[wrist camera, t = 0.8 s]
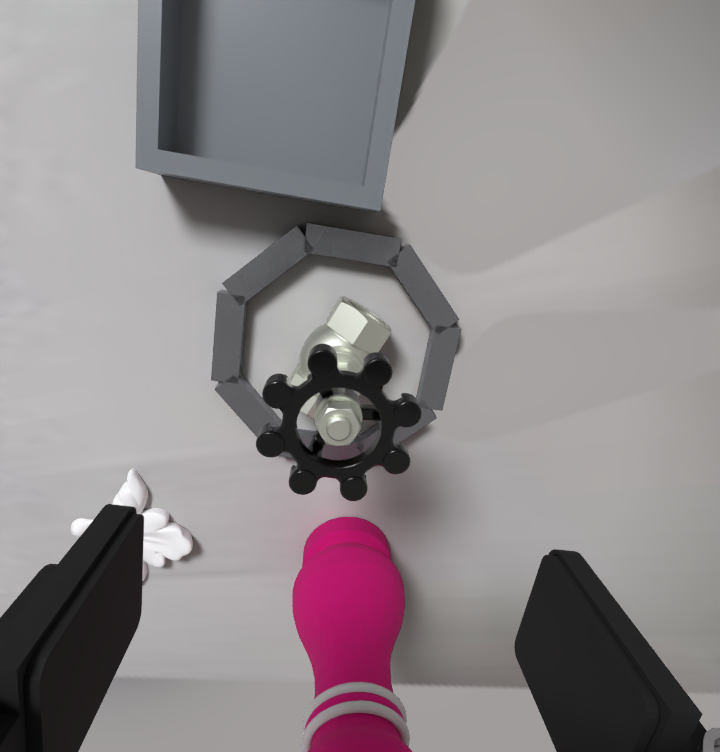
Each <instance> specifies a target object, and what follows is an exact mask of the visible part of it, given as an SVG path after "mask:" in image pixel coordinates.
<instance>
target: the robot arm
mask: <svg viewBox="0 0 720 752" xmlns="http://www.w3.org/2000/svg"><path fill="white" fill-rule="evenodd" d="M143 541H144V516H143V515H142V514H137V513H136V508H135V507H132V506H122V505H112V504H108V505H106V506H105V507H104V508H103V509H102V510H101V511H100V513H99V514H98V515H97V516H96V518H95V519H94V520H93V521H92V523H91V524H90V525H89V526H88V528H87V529H86V530H85V531H84V532H83V534H82V535H81V536H80V537H79V539H78V540H77V541H76V542H75V544H74V545H73V546H72V547H71V549H70V550H69V551H68V552H67V554H66V555H65V556H64V557H63V559H62V560H61V561H60V562H59V564H49V565H46V566H45V567H44V568H43V569H41V570H40V571H39V573H38V574H37V575H36V576H35V577H34V578H33V580H32V581H31V582H30V583H29V584H28V586H27V587H26V588H25V589H24V590H23V592H22V593H21V594H20V595H19V596H18V598H17V599H16V600H15V601H14V602H13V603H12V605H11V606H10V607H9V608H8V609H7V611H6V612H5V613H4V614H3V615H2V617H1V618H0V752H78V751H79V749H80V746H81V745H82V742H83V740H84V738H85V736H86V734H87V732H88V730H89V728H90V726H91V724H92V722H93V720H94V717H95V715H96V713H97V711H98V709H99V707H100V705H101V703H102V701H103V699H104V696H105V694H106V692H107V690H108V688H109V686H110V684H111V682H112V680H113V678H114V676H115V674H116V671H117V669H118V667H119V665H120V663H121V661H122V659H123V657H124V655H125V653H126V651H127V648H128V646H129V644H130V642H131V640H132V638H133V636H134V634H135V632H136V629H137V627H138V624H139V621H140V616H141V606H142V573H143ZM515 654H516V658H517V660H518V663H519V665H520V667H521V670H522V672H523V674H524V677H525V679H526V681H527V684H528V686H529V688H530V690H531V693H532V695H533V697H534V700H535V702H536V704H537V707H538V709H539V711H540V714H541V716H542V718H543V720H544V723H545V725H546V728H547V730H548V732H549V735H550V737H551V739H552V742H553V744H554V746H555V749H556V751H557V752H720V728H712V729H710V730H709V731H706V730H705V728H704V727H703V725H702V724H701V723H700V721H699V720H700V718H701V716H702V713H701V712H700V711H699V709H698V708H697V707H696V705H695V704H694V703H693V701H692V700H691V699H690V697H689V696H688V695H687V693H686V692H685V691H684V689H683V688H682V687H681V686H680V684H679V683H678V682H677V680H676V679H675V678H674V676H673V675H672V674H671V672H670V671H669V670H668V668H667V667H666V666H665V665H664V663H663V662H662V661H661V659H660V658H659V657H658V655H657V654H656V653H655V651H654V650H653V649H652V647H651V646H650V645H649V644H648V642H647V641H646V640H645V638H644V637H643V636H642V634H641V633H640V632H639V630H638V629H637V628H636V626H635V625H634V624H633V622H632V621H631V620H630V619H629V617H628V616H627V615H626V613H625V612H624V611H623V609H622V608H621V607H620V605H619V604H618V603H617V601H616V600H615V599H614V598H613V596H612V595H611V594H610V592H609V591H608V590H607V588H606V587H605V586H604V584H603V583H602V582H601V580H600V579H599V578H598V577H597V575H596V574H595V573H594V571H593V570H592V569H591V567H590V566H589V565H588V563H587V562H586V561H585V559H584V558H583V557H582V556H581V555H580V554H579V553H578V552H575V551H565V550H552V551H551V552H550V553H549V555H545V556H544V557H543V559H542V561H541V564H540V567H539V570H538V573H537V576H536V579H535V582H534V585H533V588H532V591H531V594H530V597H529V600H528V603H527V606H526V609H525V612H524V615H523V618H522V621H521V624H520V627H519V630H518V633H517V637H516V640H515Z"/></svg>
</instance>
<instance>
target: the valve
mask: <svg viewBox="0 0 720 752" xmlns="http://www.w3.org/2000/svg"><path fill="white" fill-rule="evenodd" d="M390 334H391V328H390V326H389V325H388V324H387V323H386V322H384V321H383V320H382V319H381V318H379V317H378V316H377V315H375V314H374V313H372V312H371V311H369V310H368V309H366V308H365V307H363V306H362V305H360V304H358V303H357V302H355V301H353V300H351V299H349V298H347V297H344V296H341V297H340V298H339V300H338V302H337V303H336V305H335V306H334V308H333V310H332V311H331V313H330V314H329V316H328V318H327V323H326V324H324V325H322V326H320V327H318V328H317V329H315V330H314V331H313V332H312V333H311V334H310V335H309V337H308V338H307V339H306V341H305V343H304V345H303V347H302V350H301V353H300V358H299V364H298V365H297V367H296V368H295V370H294V371H293V373H292V375H291V376H290V378H289V379H288V380H287V376H286V375H284V374H275V375H272V376H271V377H270V378H269V379H268V380H267V382H266V384H265V387H264V389H263V394H262V395H263V399H264V401H265V403H266V404H267V405H268V406H270V407H272V408H276V409H280V410H281V411H282V413H283V419H282V423H281V425H280V426H278V427H271V423H267V424H265V425H264V426H263V427H262V428H261V429H260V432H259V435H258V438H257V441H256V447H257V450H258V451H259V453H260V454H262V455H263V456H266V457H276V456H278V455H280V454H281V453H283V452H285V453H289V454H290V455H291V456H292V457H293V458H294V460H295V461H296V462H297V466H295V465H292V467H291V471H290V477H289V486H290V488H291V490H292V491H294V492H295V493H297V494H301V495H305V494H308V493H311V492H312V491H313V490H314V489H315V487H316V484H317V481H318V480H319V479H320V478H322V477H328V478H335V479H337V480H338V481H339V482H340V492H341V494H342V496H343V497H344V498H345V499H347V500H349V501H357V500H360V499H362V498H363V497H364V496H365V495H366V493H367V481H366V475H364V474H365V472H366V471H368V470H369V469H371V468H372V467H374V466H376V465H381V466H383V467H384V468H385V470H386V471H387V472H389V473H391V474H401V473H403V472H404V471H406V470H407V469H408V467H409V465H410V457H409V454H408V451H407V448H406V446H405V444H404V443H402V442H399V444H398V445H397V444H395V443H394V442H393V438H394V433H395V431H396V429H397V428H399V427H401V426H402V427H412V426H414V425H416V424H417V423H418V422H419V421H420V419H421V416H422V411H421V408H420V406H419V404H418V402H417V400H416V398H415V397H414V396H413V395H411V394H408V393H402V394H401V397H402V398H400V399H398V400H396V401H391V400H389V399H388V398H387V396H386V394H385V393H384V392H383V390H382V387H383V385H385V384H386V383H388V382H389V380H390V379H391V377H392V367H391V365H390V362H389V360H388V358H387V357H386V356H385V355H384V354H382V353H378V352H379V351H380V349H381V348H382V346H383V345H384V343H385V342H386V340H387V339H388V337H389V336H390ZM360 393H361V394H363V395H364V396H366V397H367V398H368V399H369V400H370V401H371V402H372V403H373V404H374V405H375V406H374V405H362V404H360V400H359V397H358V396H359V395H360ZM300 411H301V412H302V413H304V414H306V415H307V416H309V417H312V418H314V421H315V426H316V428H317V431H316V433H315V435H314V437H313V438H312V440H311V443H310V445H309V447H308V448H307V447H306V446H305V444H304V443H303V442H302V440H301V438H300V436H299V433H298V430H297V417H298V414H299V412H300ZM362 420H373V421H376V422H378V423H379V427H380V428H379V431H378V434H377V437H376V439H375V441H374V442H373V444H372V445H371V446H370V447H369V448H368V449H367V450H366V451H364V452H363V453H361V454H359V455H358V456H355V457H352V458H350V459H345V460H331V459H327V458H323V457H322V450H323V447H324V445H325V443H326V444H327V445H335V446H344V445H350V444H351V442H352V441H353V440H354V439H355V437H356V436H357V434H358V433H359V431H360V429H361V428H362V427H361V425H362Z"/></svg>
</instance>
